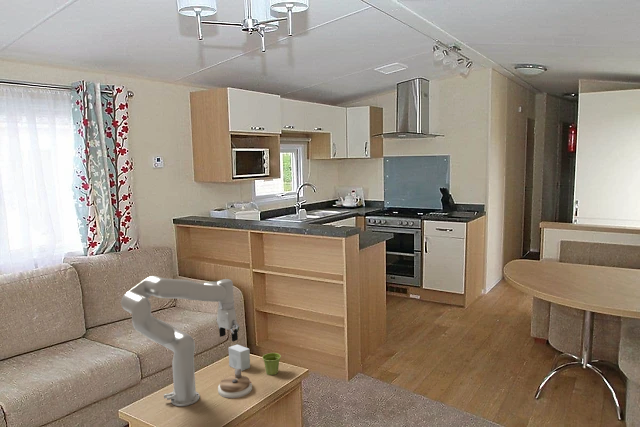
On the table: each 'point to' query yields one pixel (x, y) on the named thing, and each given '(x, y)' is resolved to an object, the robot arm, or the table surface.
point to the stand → (235, 394)
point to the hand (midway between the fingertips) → (228, 338)
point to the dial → (235, 382)
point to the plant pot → (271, 363)
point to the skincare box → (239, 357)
